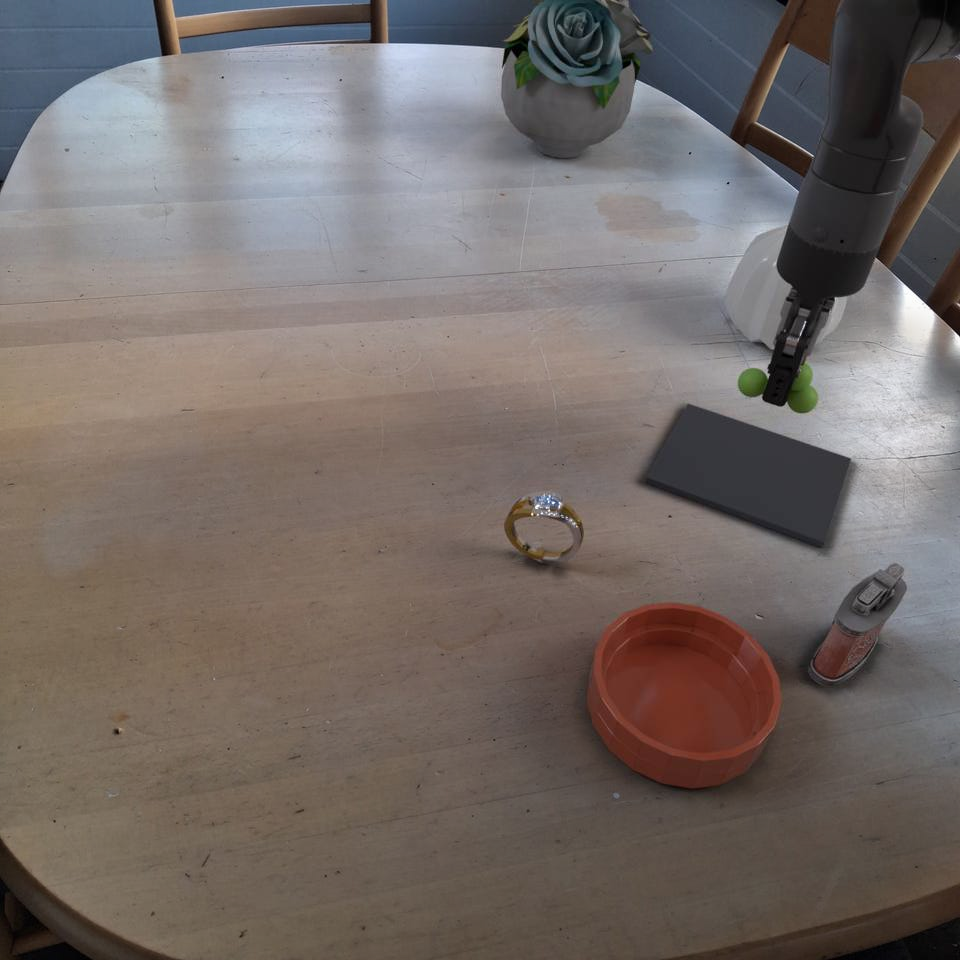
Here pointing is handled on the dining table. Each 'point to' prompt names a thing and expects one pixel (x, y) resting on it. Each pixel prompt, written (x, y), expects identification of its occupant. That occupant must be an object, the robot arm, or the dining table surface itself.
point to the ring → (545, 508)
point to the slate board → (752, 474)
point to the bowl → (682, 694)
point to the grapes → (800, 395)
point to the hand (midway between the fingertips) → (777, 392)
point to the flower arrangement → (572, 73)
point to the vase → (765, 292)
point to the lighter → (858, 626)
